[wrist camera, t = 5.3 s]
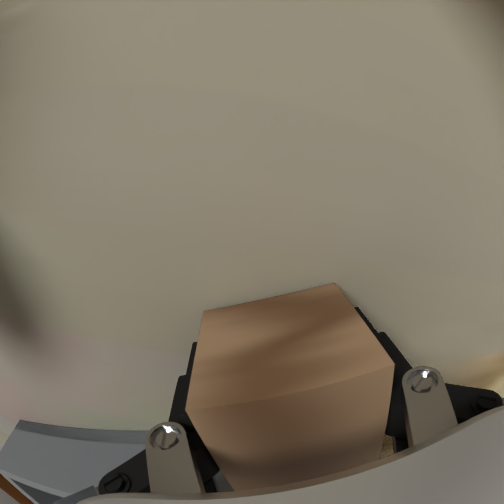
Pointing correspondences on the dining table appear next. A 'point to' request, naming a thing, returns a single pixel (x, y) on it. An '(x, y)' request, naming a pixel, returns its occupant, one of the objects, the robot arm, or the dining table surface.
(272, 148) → the dining table surface
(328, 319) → the walnut cube
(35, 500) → the tote
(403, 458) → the robot arm
